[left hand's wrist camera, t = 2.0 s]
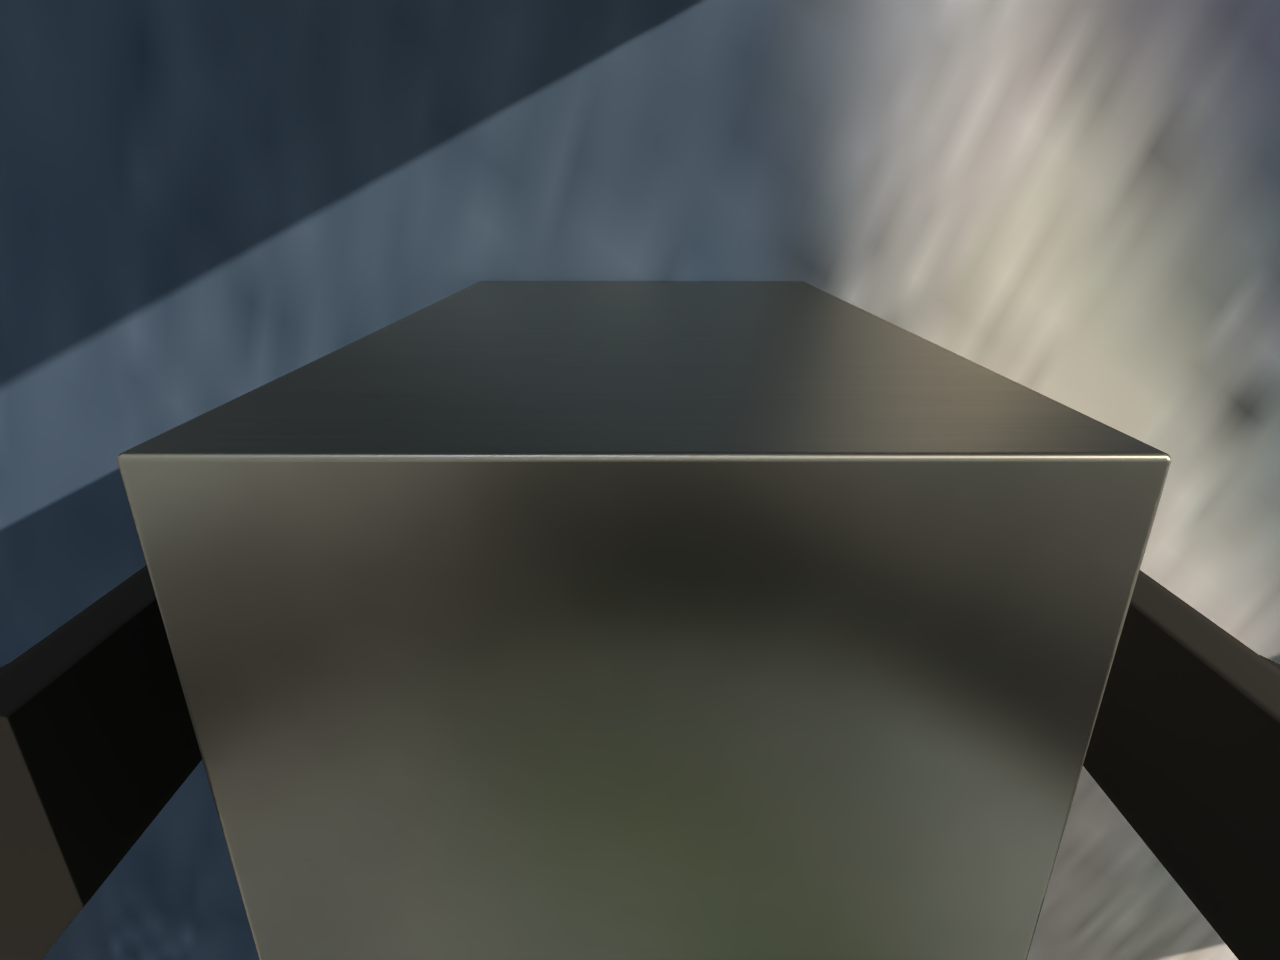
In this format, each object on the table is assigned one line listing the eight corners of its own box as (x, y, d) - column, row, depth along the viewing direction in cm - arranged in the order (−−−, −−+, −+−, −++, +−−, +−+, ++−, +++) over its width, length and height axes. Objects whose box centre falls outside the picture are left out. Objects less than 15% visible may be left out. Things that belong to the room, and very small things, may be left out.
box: (478, 281, 17) (111, 454, 5) (805, 281, 17) (1177, 454, 5) (530, 921, 26) (430, 1564, 14) (752, 922, 26) (851, 1565, 13)
